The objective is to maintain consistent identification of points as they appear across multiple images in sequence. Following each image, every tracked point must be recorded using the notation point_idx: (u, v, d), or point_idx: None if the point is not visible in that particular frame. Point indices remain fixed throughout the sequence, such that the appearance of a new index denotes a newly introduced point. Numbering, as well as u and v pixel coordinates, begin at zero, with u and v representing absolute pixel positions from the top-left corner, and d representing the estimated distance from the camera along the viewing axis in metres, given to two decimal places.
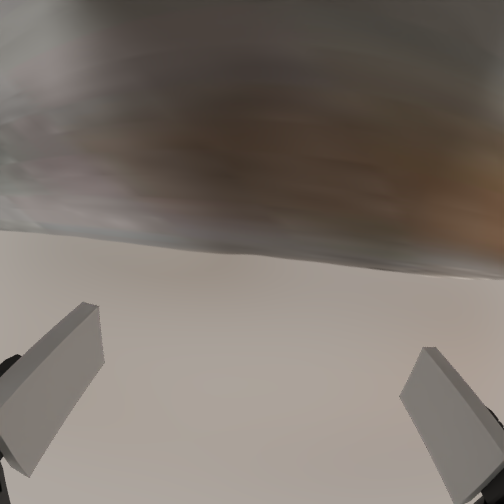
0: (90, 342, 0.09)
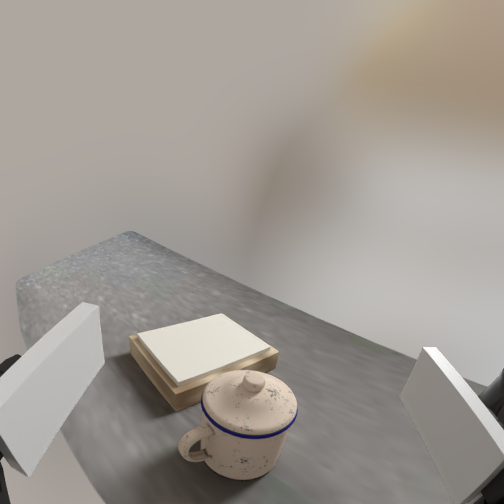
0: (90, 342, 0.09)
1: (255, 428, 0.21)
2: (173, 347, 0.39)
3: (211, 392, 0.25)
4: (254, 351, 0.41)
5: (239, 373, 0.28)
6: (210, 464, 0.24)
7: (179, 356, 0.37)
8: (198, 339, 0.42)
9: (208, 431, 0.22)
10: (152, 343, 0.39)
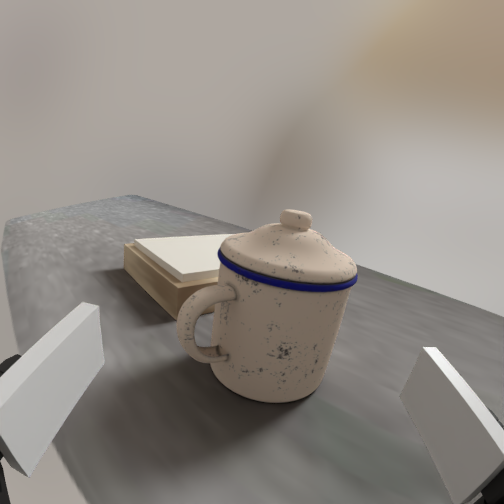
0: (90, 342, 0.09)
1: (307, 269, 0.15)
2: (177, 250, 0.33)
3: (234, 238, 0.19)
4: None
5: None
6: (224, 377, 0.18)
7: (184, 256, 0.31)
8: (208, 247, 0.36)
9: (228, 290, 0.16)
10: (152, 246, 0.33)
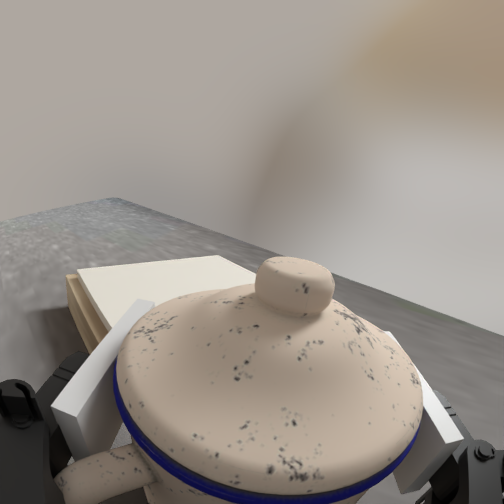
0: None
1: (332, 464, 0.04)
2: (129, 289, 0.22)
3: (147, 332, 0.07)
4: None
5: None
6: None
7: None
8: (176, 281, 0.25)
9: (134, 473, 0.05)
10: (95, 282, 0.21)
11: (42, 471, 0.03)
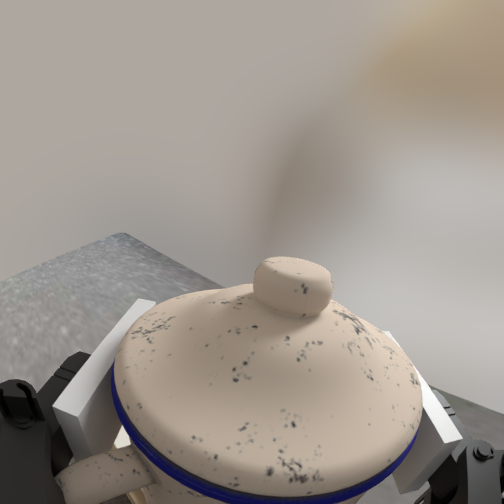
0: None
1: (332, 465, 0.04)
2: None
3: (145, 333, 0.07)
4: None
5: None
6: None
7: None
8: None
9: (132, 474, 0.05)
10: (122, 436, 0.19)
11: (43, 471, 0.03)
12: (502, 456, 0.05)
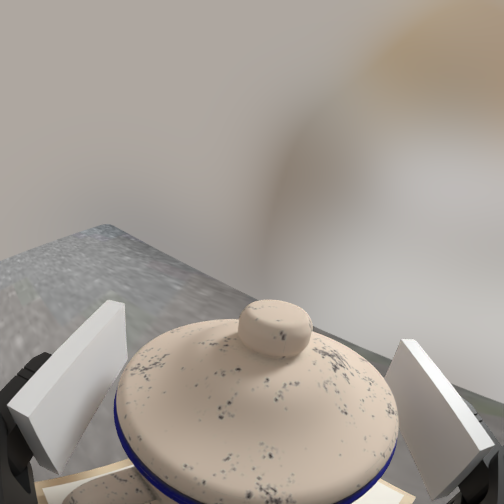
0: (116, 339, 0.10)
1: (303, 491, 0.05)
2: None
3: (142, 369, 0.08)
4: None
5: (225, 323, 0.11)
6: None
7: None
8: None
9: (136, 493, 0.05)
10: None
11: None
12: None
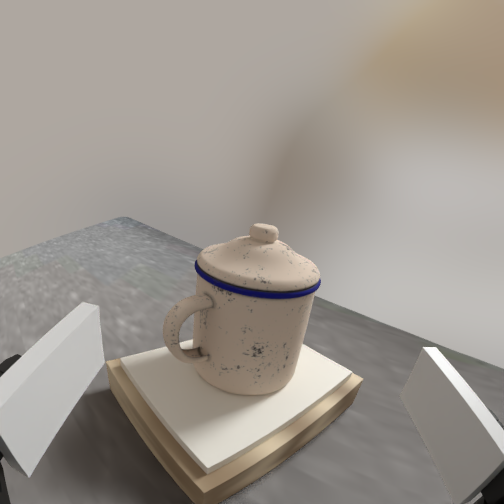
0: (90, 342, 0.09)
1: (274, 280, 0.18)
2: (188, 386, 0.20)
3: (208, 252, 0.21)
4: (331, 384, 0.22)
5: None
6: (207, 374, 0.20)
7: (201, 406, 0.18)
8: None
9: (206, 300, 0.18)
10: (147, 378, 0.20)
11: None
12: None
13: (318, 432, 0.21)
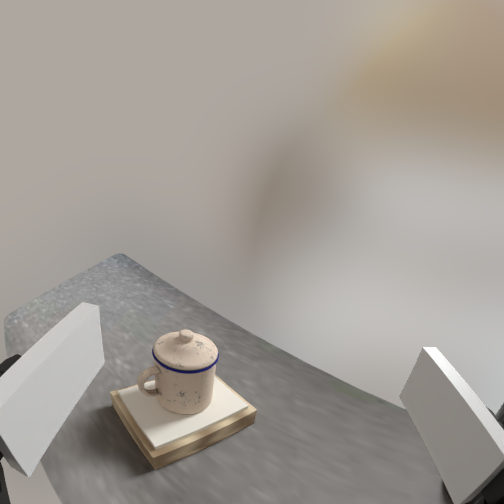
0: (90, 342, 0.09)
1: (185, 365, 0.34)
2: (152, 407, 0.36)
3: (159, 343, 0.37)
4: (231, 411, 0.39)
5: (179, 333, 0.41)
6: (161, 402, 0.37)
7: (157, 418, 0.35)
8: None
9: (156, 370, 0.35)
10: (131, 402, 0.36)
11: None
12: None
13: (224, 437, 0.38)
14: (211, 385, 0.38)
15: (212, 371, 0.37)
